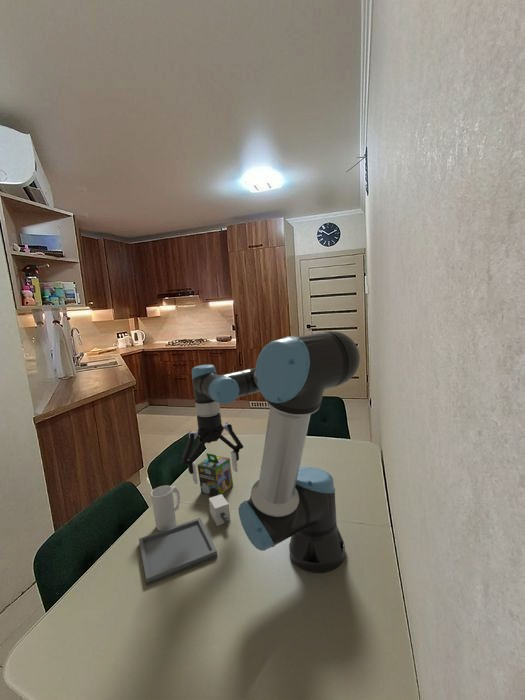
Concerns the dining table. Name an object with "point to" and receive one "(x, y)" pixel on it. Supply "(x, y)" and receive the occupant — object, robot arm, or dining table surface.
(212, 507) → the connector
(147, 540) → the tray
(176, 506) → the mug
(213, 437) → the robot arm
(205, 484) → the chalk box
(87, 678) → the dining table surface
